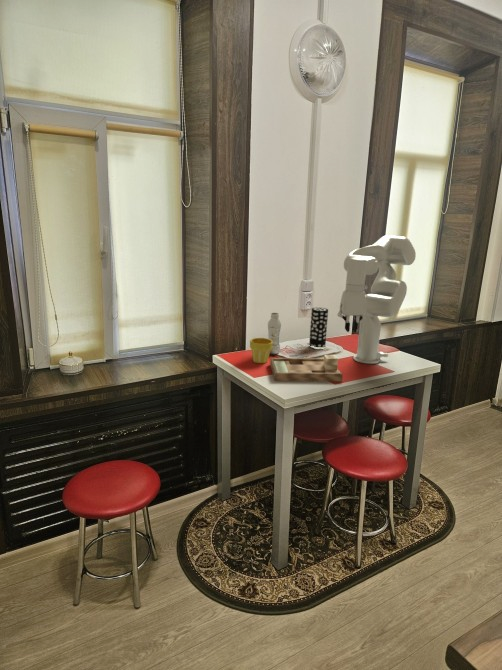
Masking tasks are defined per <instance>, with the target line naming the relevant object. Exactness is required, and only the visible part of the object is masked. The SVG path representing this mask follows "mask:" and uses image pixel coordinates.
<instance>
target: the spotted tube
mask: <svg viewBox="0 0 502 670" xmlns="http://www.w3.org/2000/svg"><path fill="white" fill-rule="evenodd" d="M310 312H311V314H310V325H309V326H310V328H309V342H308V346H309V345H310V346H314V347H325V348H326V346H327V345H326V343H327V340H326V339H327V329H328V319H329V318H328V317H329V309H328V308H327V307H326V308H325V307H312V308H311V311H310Z"/></svg>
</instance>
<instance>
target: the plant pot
mask: <svg viewBox="0 0 502 670" xmlns="http://www.w3.org/2000/svg"><path fill="white" fill-rule="evenodd" d="M272 345H273V342H272V340H270V339H268V338H265V337H254V338H251V339H250V340H249V347H250V349H251V350H250V351H251V356H252V360H253V362H254V363H257V364H265V363H267V362H268V361H269V358H270V355H271V354H270V350H271V349H272Z"/></svg>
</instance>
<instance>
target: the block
mask: <svg viewBox="0 0 502 670" xmlns="http://www.w3.org/2000/svg"><path fill="white" fill-rule="evenodd" d="M323 358H324V363H323V366H324V368H325V369H326V370H337V368H338V369H339V367H338V365H339V357H338V356H337V355H336V354H324V355H323Z"/></svg>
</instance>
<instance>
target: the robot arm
mask: <svg viewBox="0 0 502 670" xmlns="http://www.w3.org/2000/svg"><path fill="white" fill-rule="evenodd" d="M415 260H416V250H415V247H414V245H413V244H412V242H411V240H410V239H409V238H408V237H406V236H399V235H397V236H396V235H383V236H381V237H379V238H378V239H377V240H376V241H375V242H374V243H373V244H372V245H367V246H364V247H361V248H356V249H354V250H353V251H351V252H349V253H348V255H347V256H346V257H345V259H344V262H343V269H344V270H345V272H346V279H345V281H346V283H345V289H344V290H343V291H342V294H341V298H340V303H339V304H340V305H339V311H338V313H337V317H339V318H340V319H343V321H344V323H345V324H344V330H345V331H346V332H347V333H350V330H351V328H350V327H351V322H350V317H352V316H354V319H353V320H354V321H352V331H353V332H354V333H356V332H357V330H358V325H359V332H358V341H357V351H356V353H355V354H353V357H352V358H353V360H354V361H356V362H357V363H362V364H367V365H369V364H370V365H374V364H378V363H381V358H387V357H388V356H389V354H388V352H383V351H379V347H380V346H379V345H380V336H381V328H382V323H381V320H380V318H379V317H381V318H382V317H383V318H389V319H393V318H396V316H397V315H398V313H399V311H400V309H401V307H402V305H403V303H404V301H405V298H406V296H407V293H408V292H407V290H408V286H407V283H406V282H405V281H403V280H401V279H397V273H396V271H395V268H394V267H393V266H392V265H400V266H411V265H413V263H414V262H415ZM377 272H378V273H377ZM376 273H377V275H376V277H375V279H374V281H373V283H372V285H371V288H370V293H367V294H366V291H365V290H367V289H368V288H369V286H368V285H366V276H372V275H374V274H376Z"/></svg>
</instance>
